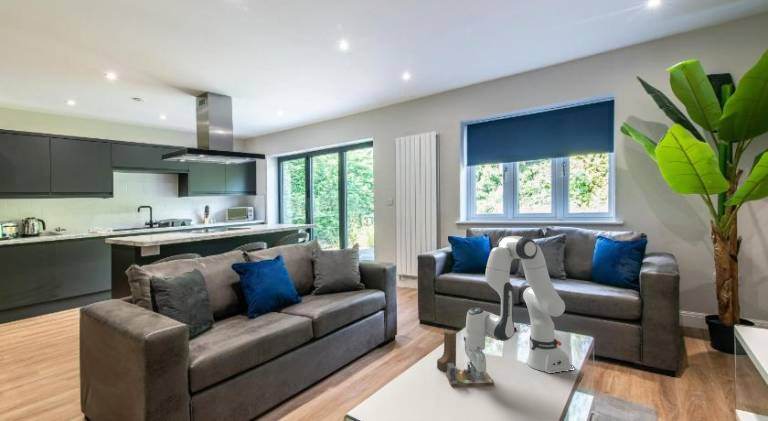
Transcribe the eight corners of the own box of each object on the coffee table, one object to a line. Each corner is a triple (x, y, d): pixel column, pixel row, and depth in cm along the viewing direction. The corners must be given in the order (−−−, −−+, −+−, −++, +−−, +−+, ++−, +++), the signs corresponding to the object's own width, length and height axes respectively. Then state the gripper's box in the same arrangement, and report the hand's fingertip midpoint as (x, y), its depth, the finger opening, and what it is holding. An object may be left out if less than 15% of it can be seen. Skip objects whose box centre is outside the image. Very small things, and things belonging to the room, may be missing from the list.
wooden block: (442, 371, 175) (443, 336, 174) (436, 368, 179) (437, 333, 178) (456, 367, 180) (456, 332, 179) (450, 363, 184) (450, 329, 183)
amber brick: (461, 380, 164) (461, 371, 163) (462, 382, 162) (462, 373, 162) (459, 380, 164) (459, 371, 163) (460, 382, 162) (460, 373, 162)
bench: (486, 374, 173) (486, 359, 172) (494, 385, 163) (494, 369, 162) (446, 375, 171) (446, 360, 171) (451, 387, 161) (451, 370, 161)
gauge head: (479, 374, 170) (479, 361, 169) (485, 382, 162) (485, 369, 162) (462, 374, 169) (462, 362, 169) (467, 383, 162) (467, 370, 161)
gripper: (490, 352, 156) (489, 383, 157) (475, 334, 177) (474, 361, 177) (476, 353, 156) (475, 384, 156) (462, 335, 176) (462, 362, 177)
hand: (475, 372), depth 167 cm, fingers closed on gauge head, 5 cm apart
